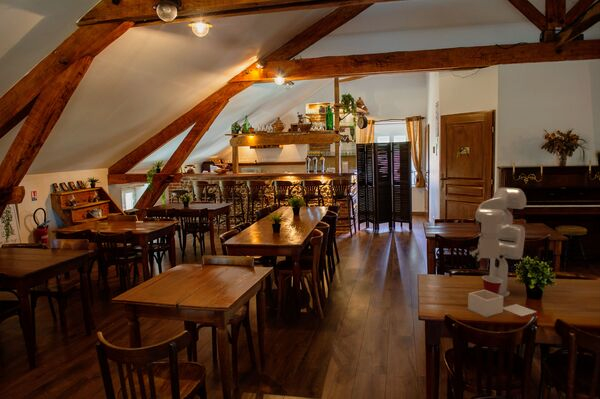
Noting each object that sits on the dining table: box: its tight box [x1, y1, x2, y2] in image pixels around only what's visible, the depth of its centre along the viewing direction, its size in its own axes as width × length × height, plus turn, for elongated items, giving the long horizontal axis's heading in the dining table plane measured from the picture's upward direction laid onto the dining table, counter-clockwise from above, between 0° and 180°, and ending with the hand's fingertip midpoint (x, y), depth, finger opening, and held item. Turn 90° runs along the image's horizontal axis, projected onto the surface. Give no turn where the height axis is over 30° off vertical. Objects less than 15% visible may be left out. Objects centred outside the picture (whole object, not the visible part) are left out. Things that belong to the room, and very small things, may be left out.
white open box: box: [467, 289, 505, 318], centre depth 226 cm, size 12×12×9 cm
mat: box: [503, 303, 537, 317], centre depth 227 cm, size 12×12×1 cm
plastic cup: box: [481, 275, 503, 294], centre depth 244 cm, size 11×11×12 cm
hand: (487, 267), depth 224 cm, fingers open, 9 cm apart
